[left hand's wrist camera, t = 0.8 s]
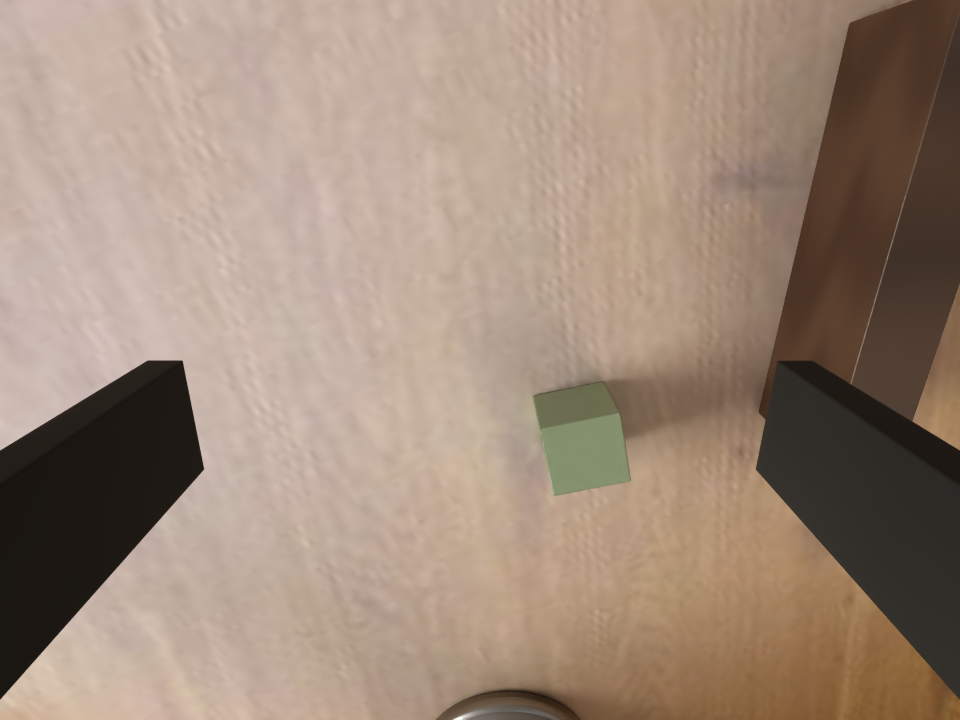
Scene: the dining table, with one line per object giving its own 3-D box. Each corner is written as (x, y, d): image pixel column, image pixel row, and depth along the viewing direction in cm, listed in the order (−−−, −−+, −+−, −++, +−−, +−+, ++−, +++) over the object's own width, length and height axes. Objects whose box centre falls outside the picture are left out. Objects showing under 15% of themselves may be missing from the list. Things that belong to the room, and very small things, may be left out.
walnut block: (814, 414, 39) (893, 476, 31) (758, 413, 39) (824, 474, 31) (920, 25, 31) (1063, -17, 23) (849, 22, 31) (968, -21, 23)
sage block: (613, 443, 40) (631, 481, 35) (545, 456, 40) (554, 496, 36) (603, 380, 38) (620, 412, 33) (532, 395, 38) (539, 429, 34)
